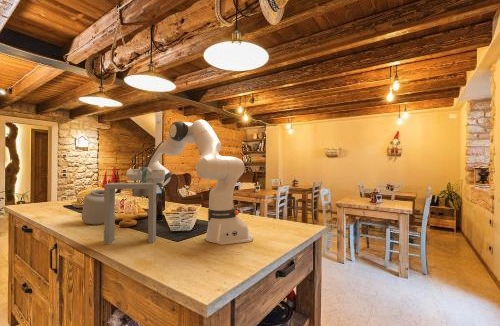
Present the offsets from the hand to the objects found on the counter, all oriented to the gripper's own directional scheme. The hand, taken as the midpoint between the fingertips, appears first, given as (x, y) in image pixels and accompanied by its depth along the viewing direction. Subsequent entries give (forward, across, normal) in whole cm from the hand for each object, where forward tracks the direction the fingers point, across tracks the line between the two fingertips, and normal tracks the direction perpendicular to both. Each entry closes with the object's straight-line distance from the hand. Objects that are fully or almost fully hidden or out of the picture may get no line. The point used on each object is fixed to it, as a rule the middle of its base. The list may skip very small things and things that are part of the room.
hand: (143, 168), depth 135 cm
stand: (+4, 0, +39) cm, 40 cm away
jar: (-28, -27, +22) cm, 45 cm away
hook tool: (-5, 0, +6) cm, 8 cm away
